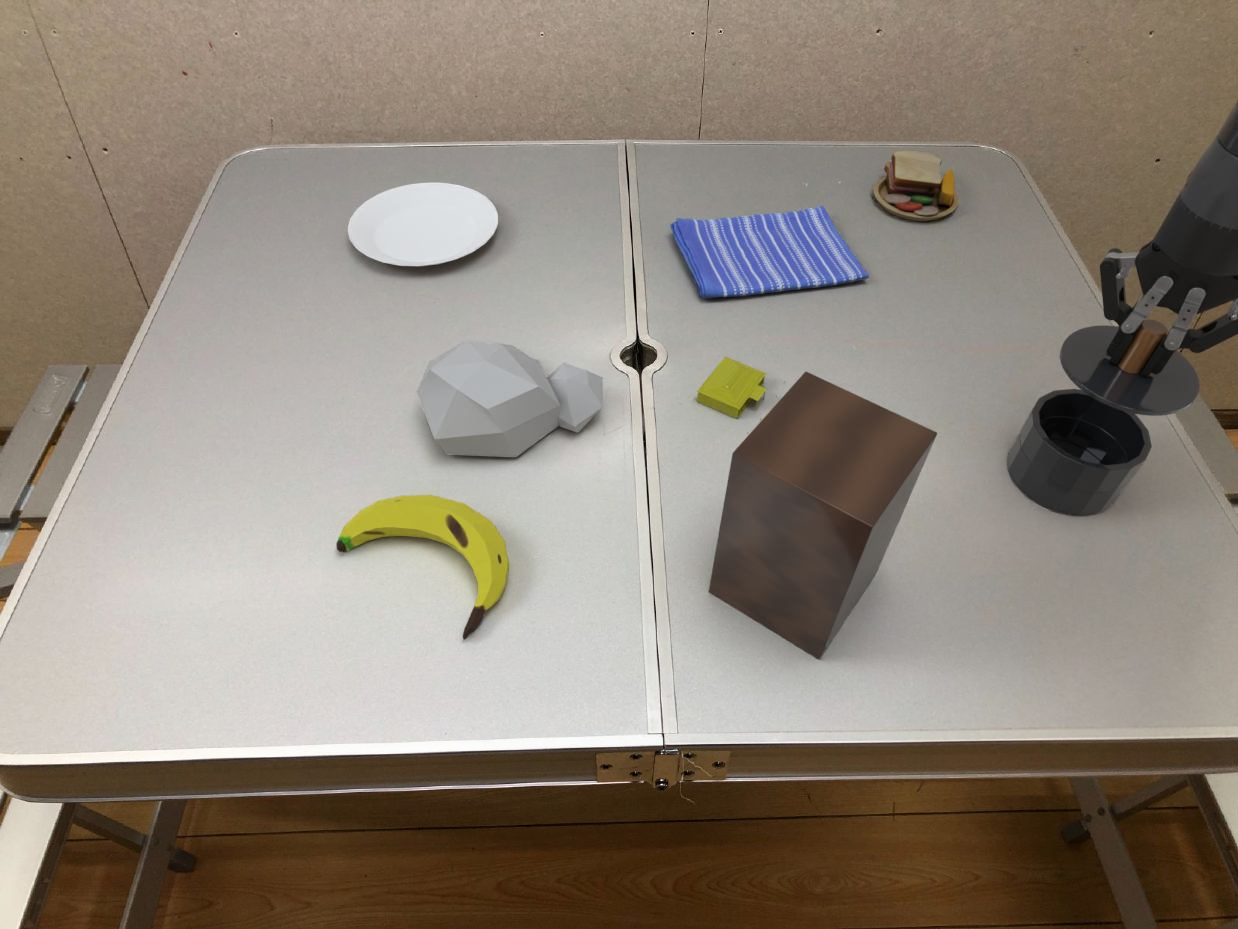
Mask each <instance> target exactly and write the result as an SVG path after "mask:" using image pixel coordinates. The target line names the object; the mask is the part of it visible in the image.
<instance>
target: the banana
mask: <svg viewBox="0 0 1238 929" xmlns="http://www.w3.org/2000/svg"><path fill="white" fill-rule="evenodd" d="M383 537H384V538H385V537H413V538H424V539H428V540H431V541H435V542H438V543H442V544H444V545H447V546H449V547H450V548H452V549H453V550H455V551H456V552H458V553H459V554H461V555H462V556H463V557H464V558H465V559H466V561H467V562H468V564H469V565H470V567H471V568H472V571H473V575H474V576H475V579H476V582H477V598H476V600H475V604H474V606H473V608H472V610H471V612H470V615H469V617H468V619H467V621H466V624H465V627H464V629H463V632H462V639H463V641H465V640H466V639H467V638H468V637H469V636H470V635H472V633H474V632H475V631H476V629H477V628H478V627H479V626H480V625H481V623H482V621H483V618H484V616H485V614H486V612H487V611H488V610H489V609H490V608H491V607H493V606H495V604H496V603H497V602H498V601H499V600H500V598H501V596H502V594H503V592H504V590H505V589H506V586H507V581H508V576H509V570H510V563H509V556H508V551H507V546H506V541H505V539H504V538H503V536H502V535H501V533H500V532H499V530H498V528H496V526H495V525H494V523H493V521H492V520H490V519H489V518H487V517H485V516H484V515H483V514H481V513H480V512H478V511H476V510H475V509H474V508H472V507H470V506H469V505H468V504H466V503H465V502H461V501H457V500H452V499H448V498H444V497H441V496H437V495H433V494H415V495H413V494H412V495H399V496H394V497H390V498H384V499H380V500H377V501H376V502H373V503H372V504H370V505H368V506H366V507H364V508H363V509H360V511H358V512H357V513H356V514H355V515H354V516H353V517H352V518H351V519H350V520H349V521H348V522H347V523H346V524H345V525H344V526H343V528H342V529H341V532H340V534H339V536H338V538H337V540H336V543H335V544H336V549H337V551H338V552H339V553H347V552H348V551H349V550H351V549H353V548H355V547H357V546H360V545H362V544H364V543H366V542H369V541H373V540H376V539H380V538H383Z"/></svg>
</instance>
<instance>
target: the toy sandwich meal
mask: <svg viewBox="0 0 1238 929" xmlns="http://www.w3.org/2000/svg"><path fill="white" fill-rule="evenodd" d="M890 160H891V161H888V162H887V163H885V165H884V168H883V171H884V172H885V176H883V177H881V178H879V179H878V180H877V181H876V182H875V184H874V185H873V195H874V197H875V200H876V201H877V202H878V204H879V205H880V206H881V208H883V209H884V210H885V211H887V212H888V213H889V214H892V215H894V216H896V217H898V218H901V219H905V220H909V221H915V222H917V221H918V222H928V221H936V220H939V219H942V218H943V217H945V216H948V215H949V214H950V215H951V213H953V212H954V211H955V210H956V209H957V207H958V206H959V197H958V195H957V194H958V193H956V192H955V175H954V171H953V169H947V170H946V171H945V174H944V176H943V178H942V172H941V164H942V162H943V159H942V157H939V156H938V155H935V154H932V153H928V152H924V151H919V150H906V149H905V150H896V151H894V152H893V153H892V155H891V158H890Z"/></svg>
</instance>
